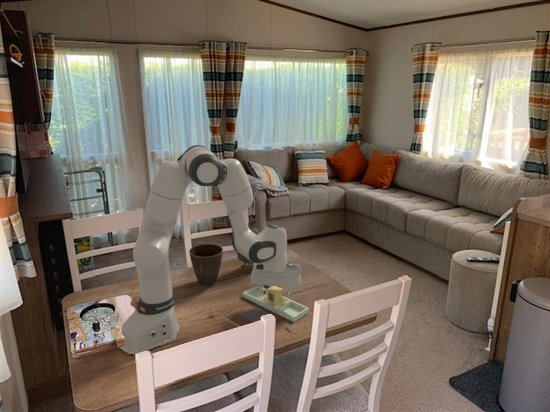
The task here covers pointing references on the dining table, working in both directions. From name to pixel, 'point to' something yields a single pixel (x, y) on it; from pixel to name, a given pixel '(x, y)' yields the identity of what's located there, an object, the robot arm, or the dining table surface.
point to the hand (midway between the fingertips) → (276, 294)
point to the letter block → (274, 296)
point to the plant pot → (206, 262)
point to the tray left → (254, 294)
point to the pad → (254, 314)
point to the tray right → (292, 310)
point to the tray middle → (264, 304)
